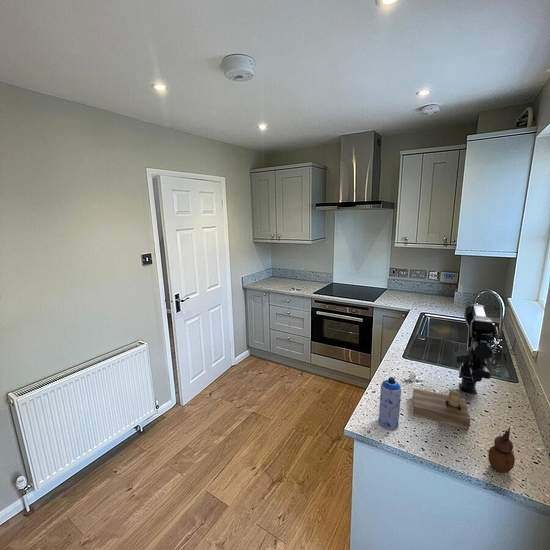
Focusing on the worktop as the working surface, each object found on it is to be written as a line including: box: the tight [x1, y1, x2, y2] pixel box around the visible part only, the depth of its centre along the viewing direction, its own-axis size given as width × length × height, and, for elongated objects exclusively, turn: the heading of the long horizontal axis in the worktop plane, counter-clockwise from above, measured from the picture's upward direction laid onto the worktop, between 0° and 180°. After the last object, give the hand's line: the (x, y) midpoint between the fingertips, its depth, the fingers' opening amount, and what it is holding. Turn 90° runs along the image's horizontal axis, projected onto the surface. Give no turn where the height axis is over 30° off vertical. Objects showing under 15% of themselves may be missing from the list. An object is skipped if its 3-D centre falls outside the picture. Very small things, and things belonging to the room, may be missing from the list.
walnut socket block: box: [412, 387, 471, 430], centre depth 125 cm, size 14×20×4 cm
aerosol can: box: [377, 376, 402, 431], centre depth 117 cm, size 8×8×20 cm
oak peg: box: [448, 390, 461, 410], centre depth 122 cm, size 4×4×9 cm
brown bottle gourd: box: [487, 427, 516, 474], centre depth 96 cm, size 7×6×15 cm
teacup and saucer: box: [406, 371, 424, 386], centre depth 149 cm, size 9×8×4 cm
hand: (474, 382), depth 126 cm, fingers closed
